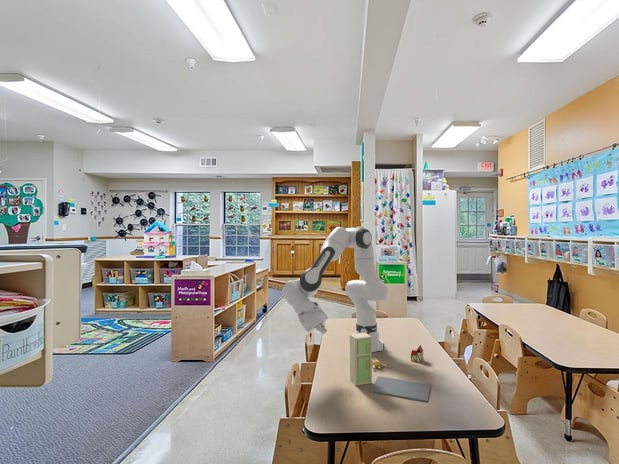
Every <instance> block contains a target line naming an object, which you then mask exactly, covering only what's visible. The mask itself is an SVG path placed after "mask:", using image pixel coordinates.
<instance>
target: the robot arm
mask: <svg viewBox="0 0 619 464" xmlns="http://www.w3.org/2000/svg"><path fill="white" fill-rule="evenodd" d="M372 240H373V236H372V233H371V232H370V229H367V228H364V227H361V228H360V227H347V228H346V227H342V226H338V227H335V228H334V229H333V230H332V231H331V232H330V234H329V235H328V236H327V237H326V239H325V240H324V242H323V244H322V245H321V248H320V250H319V252H320V253H319V255H318V256H317V258H315V261H314V262H313V264H312V265H311V266H310V267H309V268H308V269H306V270H304V271H303V272H302V273H301V274H300V277H299V278H298V279H293V280H292V279H291V280H288V281H286V283H284V285H283V286H282V289H281V295H282V296H283V298H284V299H285V301H286V302H287V303H288V305H289V306H291V307H292V308H293V311H294V312H295V313H296V314H297V316H298V317H297V318H298V319H299V323H300V324H301V326H302V327H303V328H304V330H305V331H306V332H308V333H310V332H311V331H313V330H314V329H316V330H317V331H318V332H320V333H321V334H322V335H324V334H326V333H327V332H328V329H327V328H326V325H325V324H324V323H325V322H326V321H327V320H328V319H329V318H328V315H327V314H326V312H325V311H324V310H323V309H322V307H320V304H319V303H318V302H316V301H312V300H310V299H309V298H311V297H313V296H315V295H316V294H317V293H318V290H319V288H320V287H321V284H322V279H323V274H324V272H325V271H326V269H327V268H328V266H329V264H330V263H331V262H335V261H337V260H338V259H339V258H340V257H341V256H342V254H343V252H344V250H345V249H346V248H350V249H353V250H354V251H353V252H354V253H353V254H354V255H353V257H354V270H355V272H356V273H357V274H358V275H359V276H360V277H362V279H363V280H362V279H354V280H349V281H348V282H347V283H346V284H345V288H344V289H345V290H344V291H345V293H346V295H347V297H348V298H350V299H351V302H352V304H353V305H354V307H355V312H356V323H355V331H354V332H353V334H356V333H367V334H368V335H370V336H371V347H372V353H375V352H381V351H384V341H383V340H381V339H380V332H378V322H377V311H376V309H375V307H373V306H371V304H370V302H369V301H371V302H372V301H373V302H380V301H381V302H382V301H383V302H384V301H385V300H386V299H387V298H388V296H389V288H388V286H387V285H386V284H385V283H384V282H383V281H382V280H381V279H380V276H379V275H378V274H377V271H376V266H375V264H376V263H375V255H374V254H375V253H374V248H373V247H374V246H373V242H372Z"/></svg>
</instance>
